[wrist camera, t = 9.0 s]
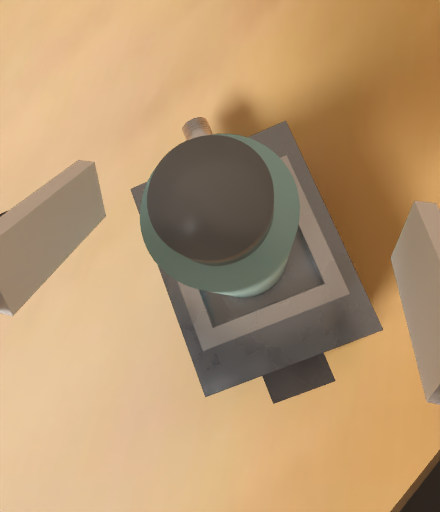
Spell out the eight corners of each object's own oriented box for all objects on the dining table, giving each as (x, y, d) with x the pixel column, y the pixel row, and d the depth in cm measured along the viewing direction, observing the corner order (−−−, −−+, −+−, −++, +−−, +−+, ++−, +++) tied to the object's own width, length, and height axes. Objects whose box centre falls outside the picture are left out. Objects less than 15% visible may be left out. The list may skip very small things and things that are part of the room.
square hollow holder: (143, 170, 30) (103, 128, 23) (263, 116, 29) (261, 56, 22) (229, 402, 26) (214, 438, 19) (369, 349, 25) (407, 367, 18)
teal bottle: (190, 233, 22) (98, 153, 10) (267, 201, 22) (259, 79, 10) (220, 310, 21) (154, 318, 10) (300, 278, 21) (336, 244, 9)
